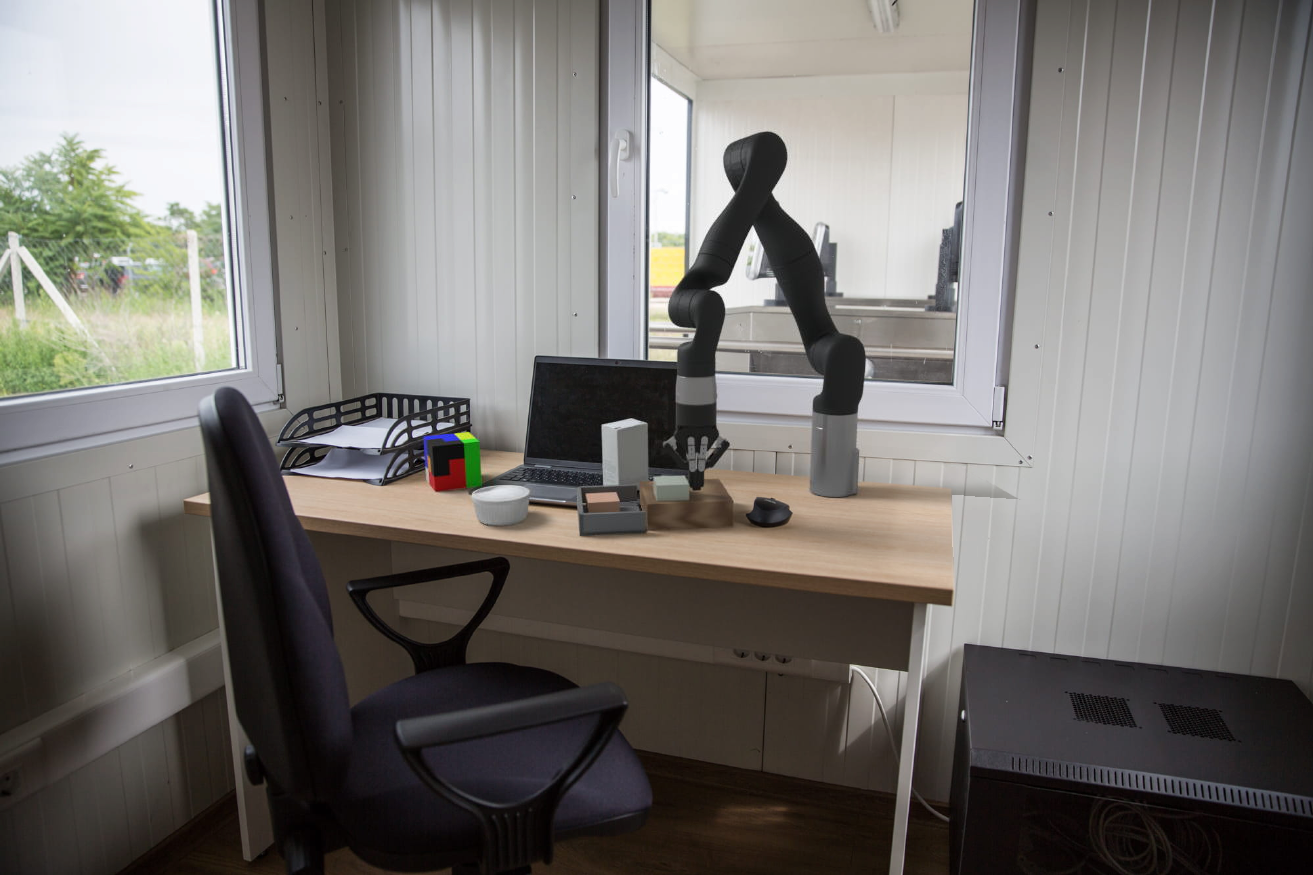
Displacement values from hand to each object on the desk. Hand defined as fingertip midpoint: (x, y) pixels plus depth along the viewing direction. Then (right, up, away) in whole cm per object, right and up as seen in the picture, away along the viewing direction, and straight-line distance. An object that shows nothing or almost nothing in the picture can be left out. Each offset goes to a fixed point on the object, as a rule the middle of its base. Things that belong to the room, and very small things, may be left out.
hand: (696, 489), depth 164 cm
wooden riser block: (-2, -5, +4) cm, 7 cm away
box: (-16, -6, +3) cm, 18 cm away
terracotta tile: (-18, -2, +4) cm, 18 cm away
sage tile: (-5, -1, 0) cm, 5 cm away
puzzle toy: (-52, 0, +27) cm, 59 cm away
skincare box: (-14, -2, +21) cm, 25 cm away
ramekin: (-37, -6, +3) cm, 38 cm away
